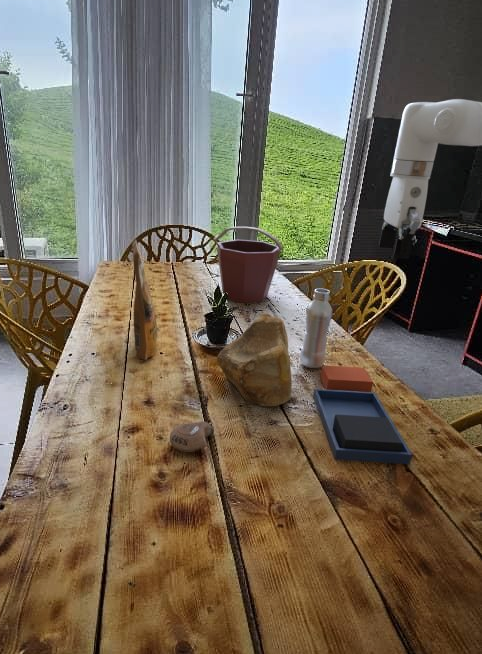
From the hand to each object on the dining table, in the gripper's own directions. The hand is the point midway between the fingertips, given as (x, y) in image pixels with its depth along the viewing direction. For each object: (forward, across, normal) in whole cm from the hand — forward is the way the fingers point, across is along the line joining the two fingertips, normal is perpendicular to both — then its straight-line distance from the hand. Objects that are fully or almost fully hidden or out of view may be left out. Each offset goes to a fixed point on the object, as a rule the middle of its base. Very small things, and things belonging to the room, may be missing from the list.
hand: (392, 252), depth 97 cm
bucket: (+32, +59, +28) cm, 73 cm away
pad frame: (+31, -23, +8) cm, 39 cm away
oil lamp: (+31, -31, +40) cm, 60 cm away
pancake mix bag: (+32, +9, +56) cm, 66 cm away
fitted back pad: (+30, -28, +8) cm, 42 cm away
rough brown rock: (+32, -8, +28) cm, 43 cm away
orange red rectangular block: (+31, -6, +6) cm, 32 cm away
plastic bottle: (+32, +4, +12) cm, 34 cm away
